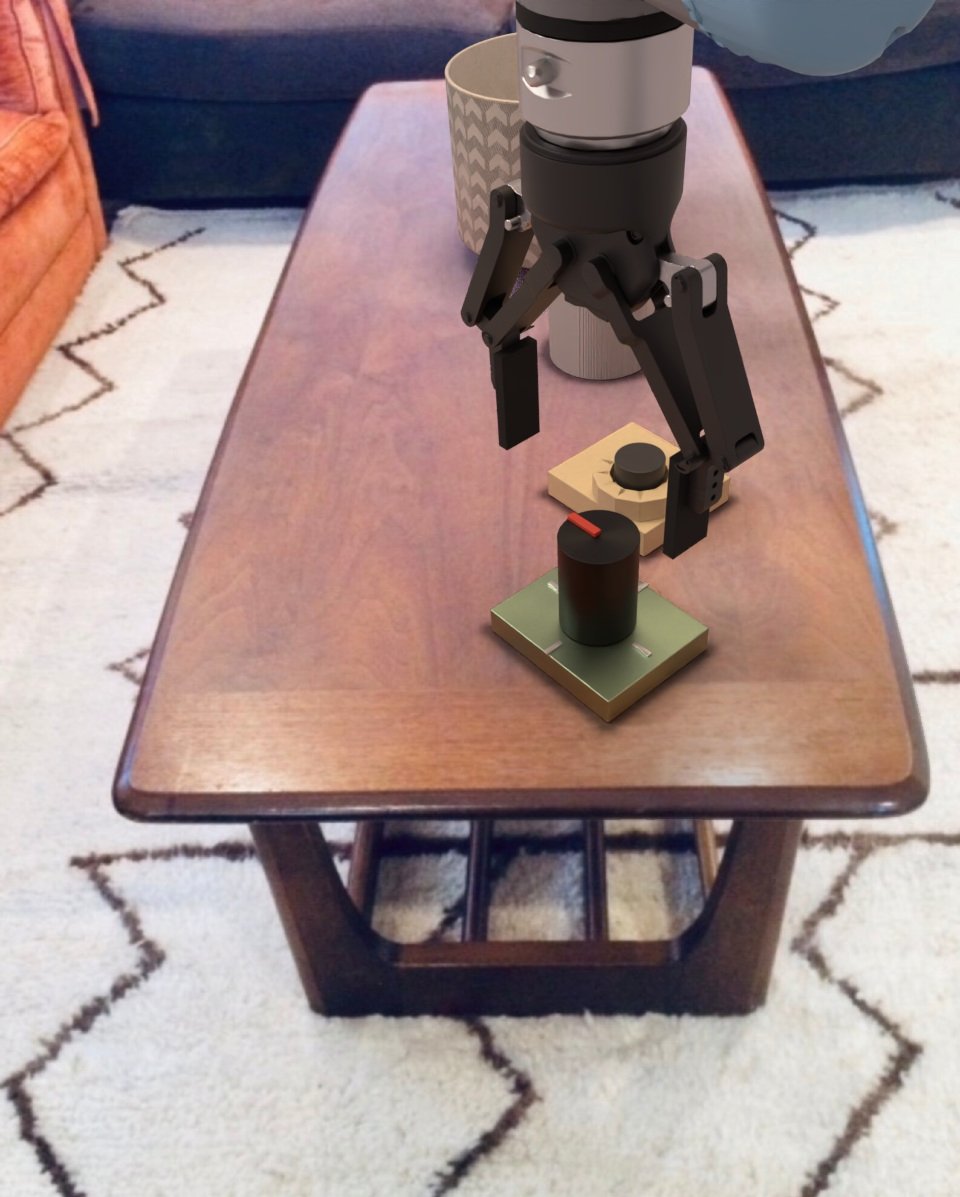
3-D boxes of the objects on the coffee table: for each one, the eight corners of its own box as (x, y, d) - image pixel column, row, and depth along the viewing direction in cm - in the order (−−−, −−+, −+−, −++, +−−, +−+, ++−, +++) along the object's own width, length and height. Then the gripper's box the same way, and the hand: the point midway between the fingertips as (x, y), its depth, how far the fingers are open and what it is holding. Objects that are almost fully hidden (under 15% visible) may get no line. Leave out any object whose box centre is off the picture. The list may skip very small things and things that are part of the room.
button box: (728, 500, 82) (733, 457, 79) (641, 558, 78) (643, 515, 75) (631, 444, 87) (632, 401, 85) (545, 495, 83) (544, 453, 81)
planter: (469, 307, 104) (452, 112, 92) (453, 219, 118) (437, 39, 106) (666, 285, 105) (677, 88, 92) (628, 200, 119) (633, 19, 106)
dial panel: (708, 648, 71) (710, 625, 70) (606, 724, 67) (607, 701, 66) (589, 566, 77) (589, 543, 76) (490, 631, 73) (488, 608, 72)
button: (675, 476, 78) (676, 457, 77) (639, 499, 77) (640, 479, 75) (638, 455, 80) (639, 435, 79) (603, 476, 79) (603, 457, 78)
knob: (653, 618, 70) (658, 532, 65) (597, 658, 68) (598, 572, 63) (598, 580, 73) (599, 494, 68) (543, 616, 71) (539, 531, 66)
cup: (621, 390, 93) (624, 258, 84) (530, 362, 97) (525, 233, 88) (671, 339, 98) (679, 210, 90) (583, 315, 102) (583, 189, 94)
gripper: (371, 74, 54) (415, 425, 69) (770, 235, 40) (718, 634, 55) (486, 34, 58) (505, 378, 72) (894, 169, 43) (813, 563, 58)
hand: (597, 489), depth 64 cm, fingers open, 13 cm apart
